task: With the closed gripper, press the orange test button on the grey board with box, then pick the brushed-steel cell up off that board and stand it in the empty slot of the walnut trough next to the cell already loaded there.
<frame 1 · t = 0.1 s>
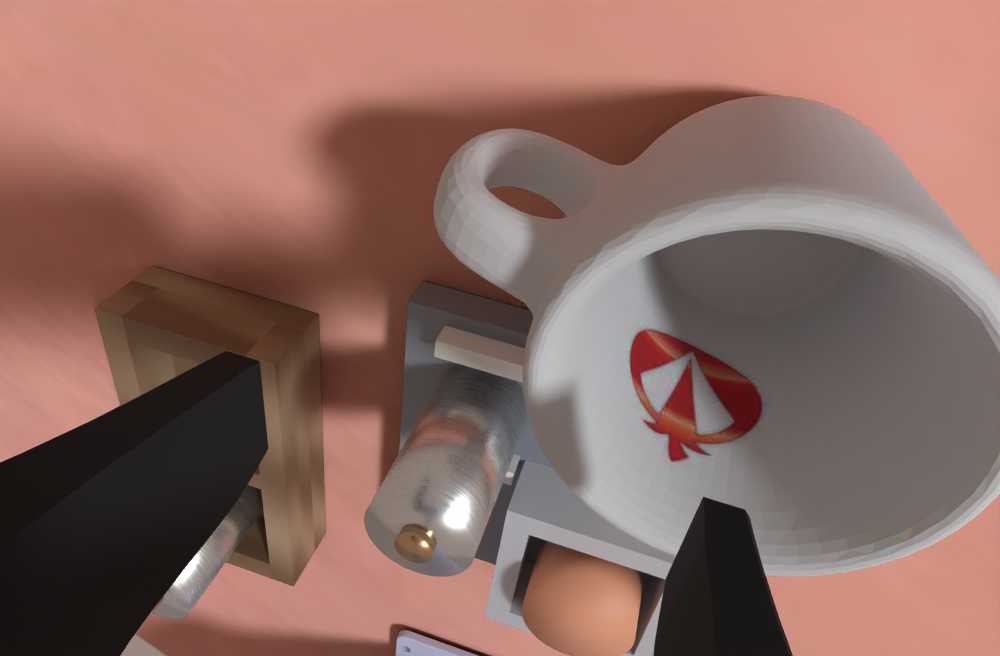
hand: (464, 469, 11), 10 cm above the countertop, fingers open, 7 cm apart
button: (583, 597, 23), point 3 cm above the countertop, slide at 0.0 cm
cell2: (240, 477, 29), point 1 cm above the countertop, touching trough
grey board with box: (554, 452, 25), on the countertop
cell: (483, 400, 23), point 1 cm above the countertop, touching grey board with box
trough: (248, 414, 28), on the countertop
cup: (703, 186, 18), on the countertop
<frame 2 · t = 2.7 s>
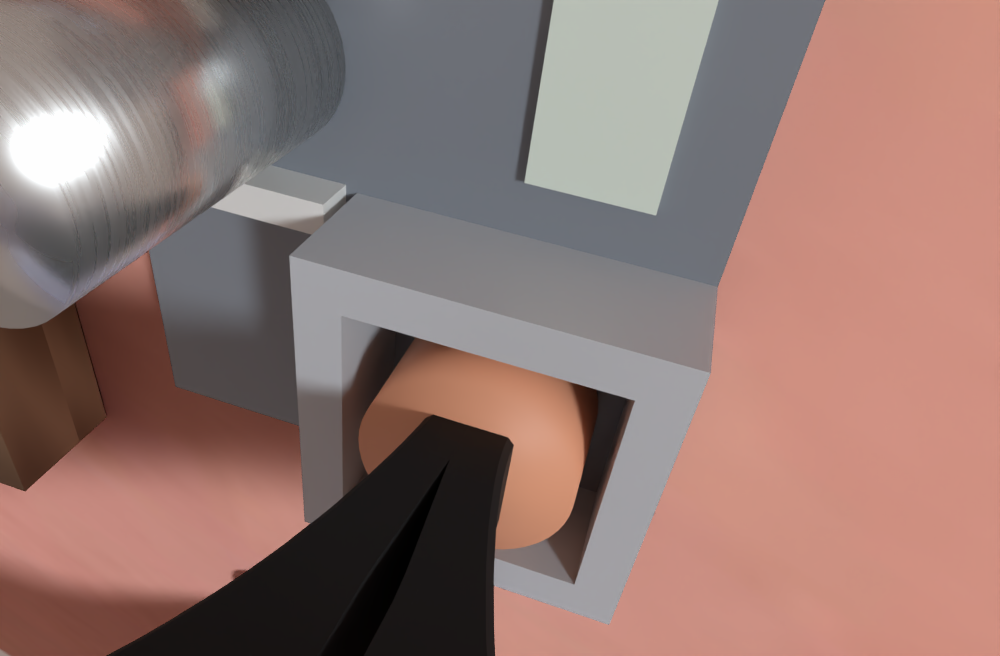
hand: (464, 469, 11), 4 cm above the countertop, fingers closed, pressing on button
button: (482, 429, 12), point 3 cm above the countertop, slide at 0.8 cm, touching gripper
grey board with box: (426, 201, 13), on the countertop
cell: (255, 48, 11), point 1 cm above the countertop, touching grey board with box
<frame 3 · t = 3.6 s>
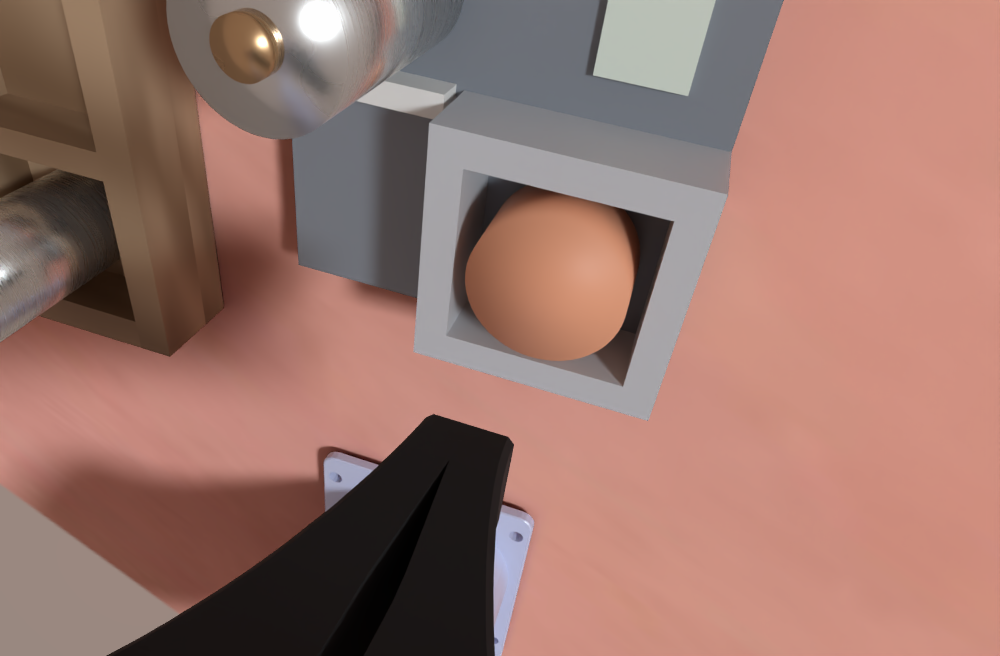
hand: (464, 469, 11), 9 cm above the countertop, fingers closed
button: (554, 270, 16), point 3 cm above the countertop, slide at 0.6 cm
cell2: (98, 209, 22), point 1 cm above the countertop, touching trough
grey board with box: (509, 103, 17), on the countertop
trough: (103, 113, 21), on the countertop
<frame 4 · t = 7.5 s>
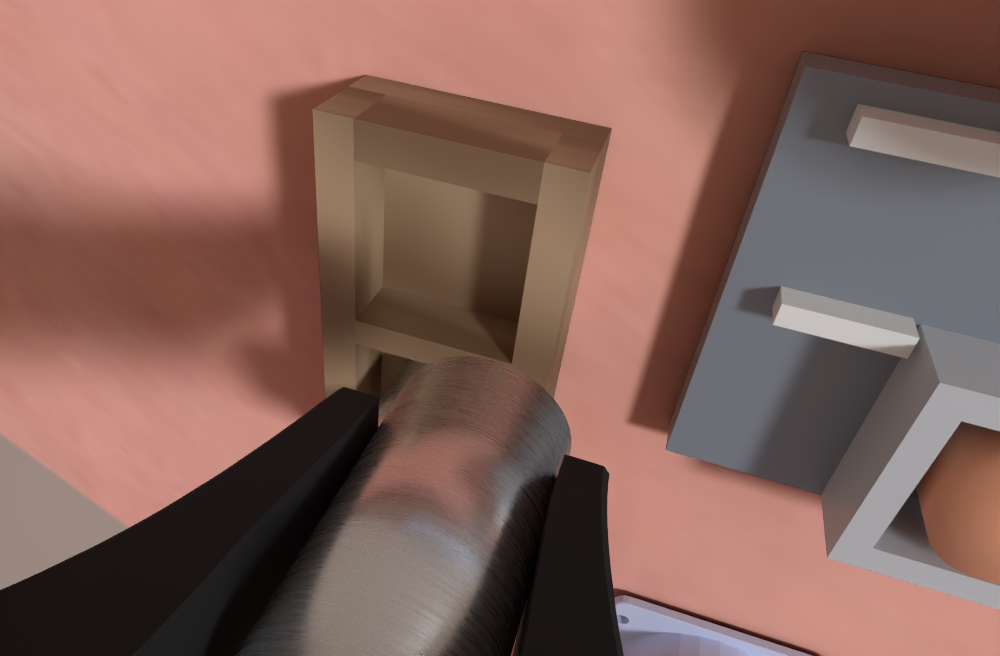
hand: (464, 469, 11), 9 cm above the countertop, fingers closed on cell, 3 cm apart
cell2: (447, 387, 22), point 1 cm above the countertop, touching trough
grey board with box: (936, 322, 18), on the countertop
cell: (483, 428, 12), point 9 cm above the countertop, touching gripper
trough: (464, 299, 21), on the countertop
when the fingers open (3 cm above the countertop, at t = 9.2 s): cell drops 1 cm, resting on trough.
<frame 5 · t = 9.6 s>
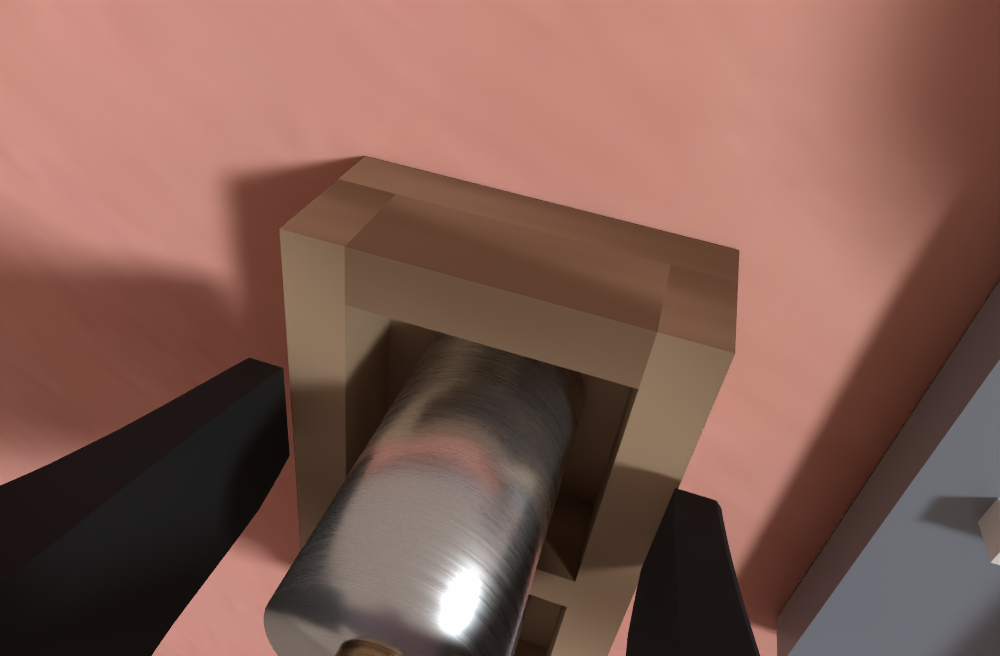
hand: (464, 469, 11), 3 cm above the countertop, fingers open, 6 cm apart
cell: (502, 384, 13), point 1 cm above the countertop, touching trough
trough: (498, 451, 15), on the countertop
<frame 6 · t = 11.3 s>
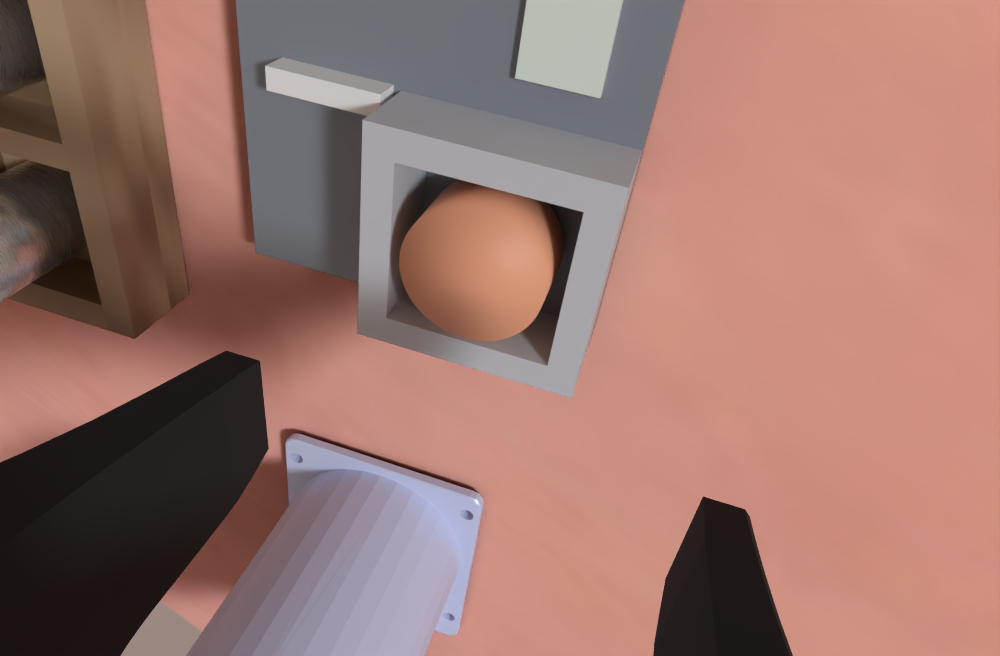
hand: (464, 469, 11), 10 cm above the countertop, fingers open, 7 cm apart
button: (483, 257, 18), point 3 cm above the countertop, slide at 0.6 cm
cell2: (68, 199, 23), point 1 cm above the countertop, touching trough
grey board with box: (447, 103, 19), on the countertop
cell: (23, 21, 20), point 1 cm above the countertop, touching trough
trough: (73, 107, 22), on the countertop
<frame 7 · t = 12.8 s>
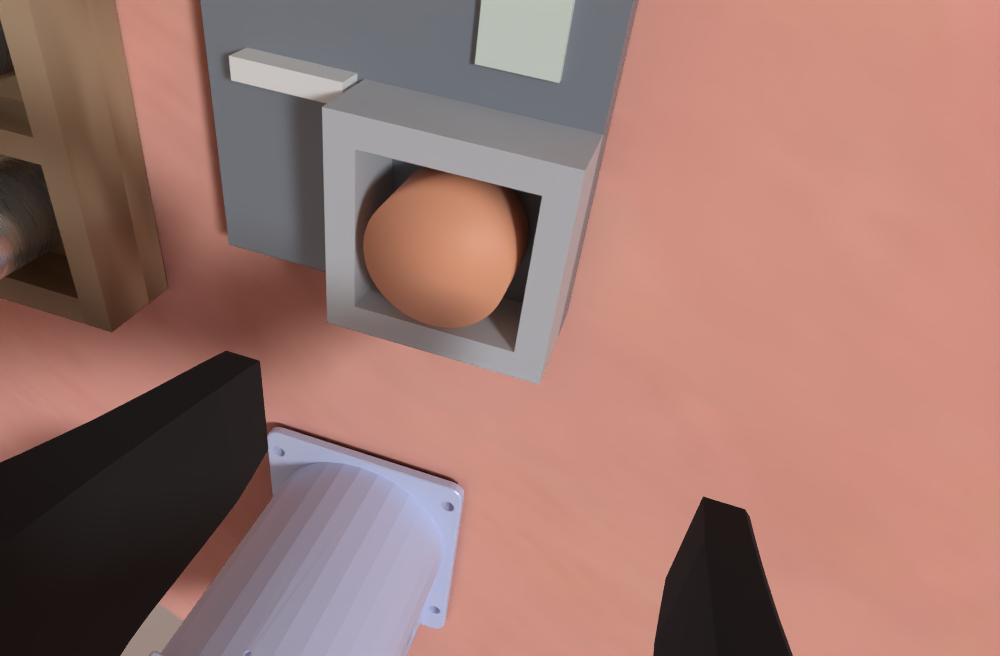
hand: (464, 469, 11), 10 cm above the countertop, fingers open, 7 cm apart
button: (448, 244, 18), point 3 cm above the countertop, slide at 0.6 cm
cell2: (45, 194, 23), point 1 cm above the countertop, touching trough
grey board with box: (412, 91, 19), on the countertop
trough: (47, 102, 22), on the countertop
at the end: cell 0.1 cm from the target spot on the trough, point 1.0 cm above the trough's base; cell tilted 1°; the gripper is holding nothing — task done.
